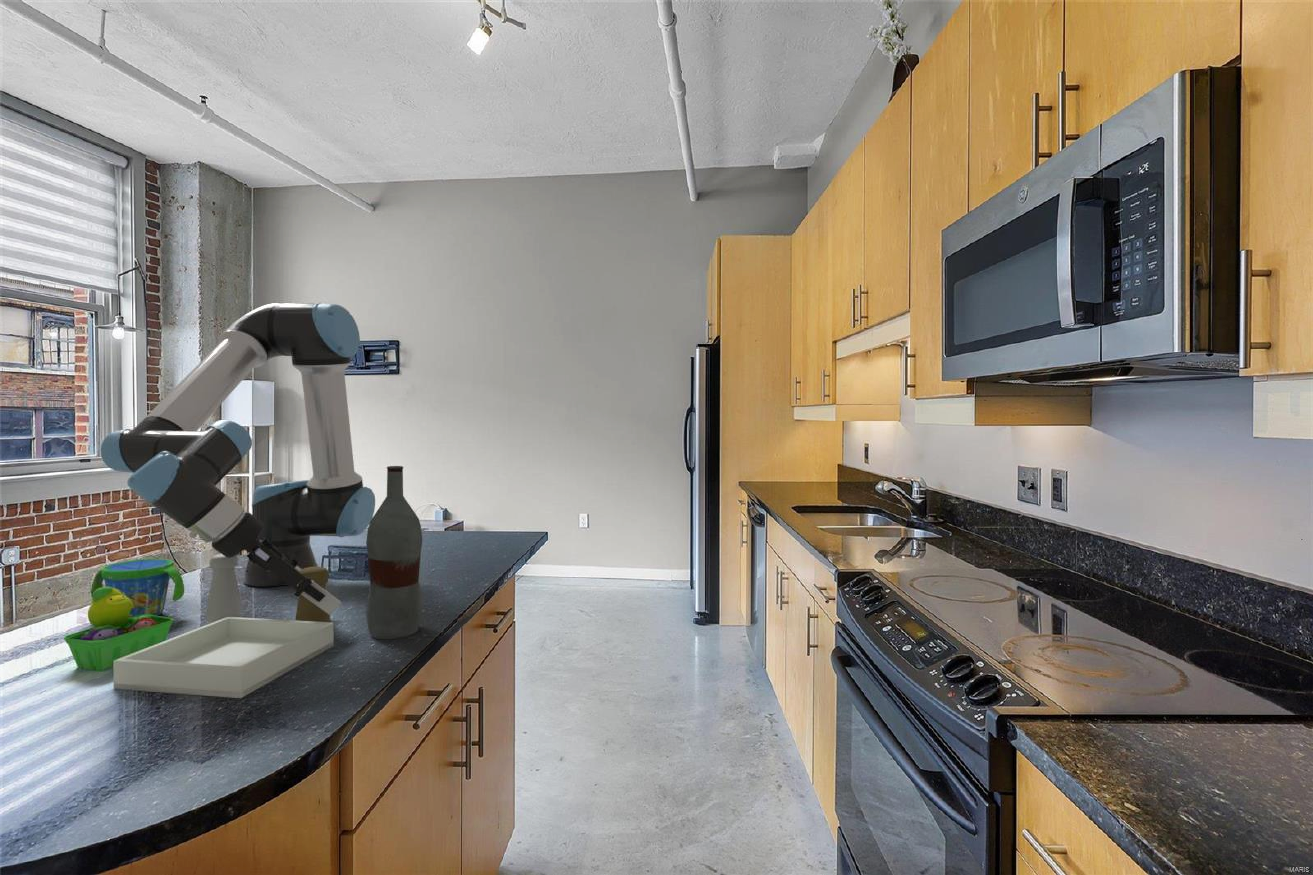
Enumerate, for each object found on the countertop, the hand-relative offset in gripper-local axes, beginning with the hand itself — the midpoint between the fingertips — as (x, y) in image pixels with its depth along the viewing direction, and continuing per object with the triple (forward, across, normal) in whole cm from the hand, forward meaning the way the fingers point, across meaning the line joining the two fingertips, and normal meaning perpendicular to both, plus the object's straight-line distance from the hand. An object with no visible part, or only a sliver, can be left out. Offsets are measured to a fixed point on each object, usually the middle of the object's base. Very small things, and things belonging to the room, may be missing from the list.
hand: (327, 599), depth 113 cm
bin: (-8, +12, -14) cm, 20 cm away
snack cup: (-16, -26, -22) cm, 38 cm away
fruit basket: (-17, -2, -24) cm, 30 cm away
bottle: (+10, +12, +3) cm, 15 cm away
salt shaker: (-7, -12, -14) cm, 19 cm away
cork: (+2, 0, -5) cm, 5 cm away
